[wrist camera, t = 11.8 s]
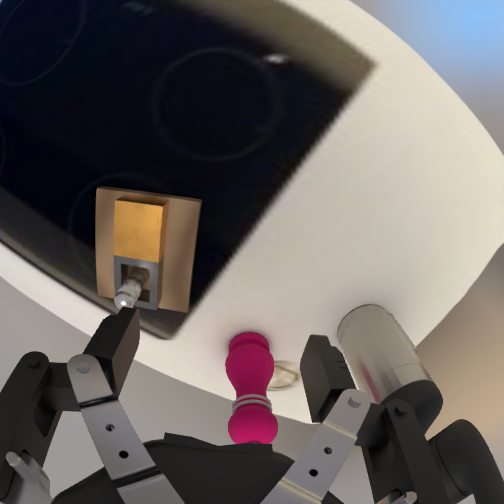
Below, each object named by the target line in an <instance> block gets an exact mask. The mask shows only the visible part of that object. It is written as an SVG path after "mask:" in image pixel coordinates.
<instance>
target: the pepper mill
mask: <svg viewBox="0 0 504 504" xmlns="http://www.w3.org/2000/svg"><path fill="white" fill-rule="evenodd" d="M225 366H226V373H227V376H228V378H229V380H230V382H231V383H232V385H233V387H234V389H235V390H236V397H237V398H236V400H235V401H234V402H233V405H232V408H233V410H232V414H233V415H232V416H231V418H230V420H229V423H228V432H229V435H230V437H231V439H232V440H233V441H234V442H235V443H236V444H240V443H261V444H270V443H271V442H272V441H273V440H274V438H275V437H276V435H277V431H278V423H277V420H276V417H275V416H274V415H273V414H272V408H271V402H270V400H269V399H268V398H267V396H266V389H267V386H268V384H269V382H270V380H271V378H272V376H273V372H274V359H273V357H272V355H271V354H270V352H269V345H268V342H267V340H266V339H265V338H264V337H263V336H261V335H259V334H257V333H252V332H248V333H242V334H240V335H237V336H236V337H235V338H233V339H232V341H231V342H230V345H229V355H228V356H227V359H226V363H225Z"/></svg>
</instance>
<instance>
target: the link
mask: <svg viewBox="0 0 504 504" xmlns="http://www.w3.org/2000/svg"><path fill="white" fill-rule="evenodd" d="M168 204H169V201H167V200H159V199H152V198H144V197H137V196H129V195H123V196H121V197H120V198H118V199H116V200H115V213H114V287H115V295H116V293H117V292H118V290H119V289H120V288H121V286H122V285H123V283H124V282H125V280H126V279H127V277H128V265H132V266H138V267H144V268H149V269H150V290H144V289H143V290H142V291H141V293H140V295H139V297H138V299H137V300H136V302H135V304H134V306H137V307H142V308H147V309H152V310H157V308H158V306H159V304H160V301H161V299H162V279H163V262H164V248H165V235H166V224H167V213H168Z"/></svg>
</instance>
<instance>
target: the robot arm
mask: <svg viewBox="0 0 504 504" xmlns="http://www.w3.org/2000/svg"><path fill="white" fill-rule="evenodd" d="M139 339H140V326H139V310H138V309H135V308H130V307H125V306H123V307H122V308H121V310H120V311H119V313H118V315H117V316H116V315H112V314H111V315H109V316H108V317H106V318H105V319H103V321H102V322H101V324H100V325H99V328H98V329H97V330H96V332H95V334H94V335H93V337H92V338H91V340H90V342H89V343H88V345H87V347H86V348H85V350H84V352H83V354H79V355H76V356H74V357H72V358H71V359H70V360H69V361H68V363H53V362H49V359H48V357H47V356H46V355H45V354H43V353H41V352H36V351H33V352H29V353H27V354H25V355H24V356H23V357H22V358H21V359H20V361H19V363H18V364H17V366H16V367H15V369H14V370H13V372H12V374H11V375H10V377H9V379H8V380H7V382H6V384H5V385H4V387H3V389H2V391H1V392H0V504H344V503H343V502H341V501H340V500H339V499H338V498H336V497H335V496H334V495H333V494H332V493H330V492H329V491H328V490H329V488H330V486H331V485H332V483H333V481H334V480H335V478H336V476H337V475H338V473H339V471H340V469H341V468H342V466H343V464H344V462H345V461H346V459H347V457H348V455H349V453H350V451H351V449H352V447H353V445H357V446H361V448H362V452H363V456H364V460H365V464H366V468H367V473H368V477H369V481H370V485H371V489H372V494H373V499H374V503H375V504H457V503H459V502H460V501H462V500H463V499H465V498H466V497H468V496H469V495H471V494H474V498H475V501H476V504H504V481H503V478H502V476H501V474H500V471H499V469H498V467H497V464H496V462H495V460H494V458H493V456H492V454H491V452H490V450H489V447H488V446H487V444H486V442H485V440H484V438H483V437H482V435H481V434H480V432H479V431H478V430H477V428H476V427H475V426H474V425H473V424H472V423H470V422H469V421H467V420H464V419H460V420H457V421H455V422H453V423H452V424H450V425H449V426H448V427H446V428H445V429H443V430H442V431H441V432H439V433H438V434H436V435H435V436H434V437H432V438H431V439H429V440H428V441H427V440H426V438H425V433H426V432H427V430H428V428H429V427H430V426H431V424H432V423H433V422H434V420H435V419H436V417H437V416H438V414H439V413H440V410H441V408H442V405H443V398H442V395H441V393H440V391H439V389H438V388H437V386H436V384H435V383H434V381H433V380H432V378H431V377H430V375H429V374H428V372H427V370H426V369H425V368H424V366H423V364H422V363H421V361H420V360H419V358H418V357H417V355H416V352H417V349H416V347H415V346H414V344H413V343H412V341H411V340H410V339H409V337H408V336H407V334H406V333H405V331H404V330H403V329H402V327H401V326H400V324H399V323H398V322H397V320H396V319H395V318H394V316H393V315H390V314H388V313H387V312H386V311H385V310H384V309H383V308H382V307H380V306H377V305H366V306H362V307H359V308H357V309H355V310H354V311H352V312H351V313H349V314H348V315H347V316H346V317H345V318H344V320H343V321H342V322H341V324H340V326H339V329H338V339H339V342H340V344H341V347H342V349H343V351H344V354H345V356H346V359H347V361H348V363H349V366H350V368H351V371H352V373H353V375H354V378H355V380H356V383H357V385H358V388H359V390H360V391H359V390H357V389H356V386H355V384H354V381H353V379H352V376H351V374H350V371H349V369H348V367H347V364H346V363H345V359H344V357H343V354H342V353H341V352H340V351H339V350H338V349H337V348H336V347H334V346H331V345H330V342H329V339H328V337H327V336H324V335H310V337H309V339H308V342H307V344H306V347H305V350H304V352H303V355H302V358H301V362H300V371H301V376H302V380H303V384H304V389H305V393H306V397H307V402H308V406H309V411H310V415H311V419H312V423H321V426H320V427H319V429H318V430H317V432H316V433H315V435H314V436H313V438H312V439H311V440H310V442H309V443H308V445H307V446H306V447H305V449H304V450H303V451H302V453H301V454H300V456H299V457H298V458H297V460H296V461H294V460H293V459H291V458H289V457H287V456H286V455H283V454H281V453H278V452H275V451H273V450H272V444H261V443H240V444H233V445H224V446H217V445H213V444H211V443H208V442H205V441H202V440H199V439H196V438H193V437H189V436H183V435H177V434H171V433H166V432H165V435H164V439H159V440H151V441H147V442H144V443H142V442H141V440H140V439H139V437H138V435H137V434H136V432H135V430H134V428H133V426H132V425H131V423H130V421H129V419H128V417H127V415H126V414H125V411H124V410H123V407H122V406H121V404H120V402H119V400H118V397H119V395H120V392H121V389H122V387H123V384H124V381H125V379H126V376H127V374H128V371H129V368H130V366H131V363H132V361H133V358H134V356H135V353H136V351H137V348H138V345H139ZM63 411H78V412H79V411H80V412H81V413H82V415H83V418H84V421H85V423H86V426H87V428H88V431H89V433H90V435H91V438H92V440H93V442H94V445H95V447H96V449H97V451H98V453H99V456H100V458H101V460H102V462H103V464H104V467H103V468H101V469H100V470H98V471H97V472H95V473H93V474H91V475H90V476H88V477H87V478H85V479H83V480H82V481H80V482H78V483H76V484H75V485H73V486H71V487H69V488H68V489H66V490H64V491H62V492H61V493H59V494H58V495H57V496H56V497H55V498H54V499H52V498H51V496H50V491H49V489H50V481H49V478H48V476H47V475H46V473H45V472H44V471H43V469H42V468H43V464H44V461H45V458H46V455H47V452H48V449H49V446H50V443H51V441H52V438H53V435H54V432H55V430H56V427H57V424H58V422H59V419H60V417H61V414H62V412H63Z"/></svg>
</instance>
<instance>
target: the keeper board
mask: <svg viewBox="0 0 504 504" xmlns="http://www.w3.org/2000/svg"><path fill="white" fill-rule="evenodd" d="M123 195H129V196H137V197H144V198H152V199H159V200H167V201H169V204H168V213H167V224H166V235H165V248H164V262H163V279H162V299H161V301H160V304H159V306H158V308H163V309H169V310H175V311H180V312H186V313H188V309H189V303H190V293H191V283H192V274H193V265H194V257H195V249H196V241H197V233H198V225H199V218H200V211H201V204H202V200H201V199H194V198H187V197H180V196H174V195H166V194H159V193H152V192H144V191H137V190H129V189H121V188H112V187H104V186H101V187H99V188H97V194H96V271H97V288H98V295H99V296H104V297H108V298H113V299H114V298H115V287H114V213H115V200H116V199H118V198H120V197H121V196H123ZM135 267H136V266H132V265H128V276H129V275H130V273H131V272H132V270H133V269H134V268H135ZM147 269H148V271H149V273H150V269H149V268H147ZM143 289H144V290H150V277H149V279H148V281H147V282H146V284H145V286H144V288H143Z"/></svg>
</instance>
